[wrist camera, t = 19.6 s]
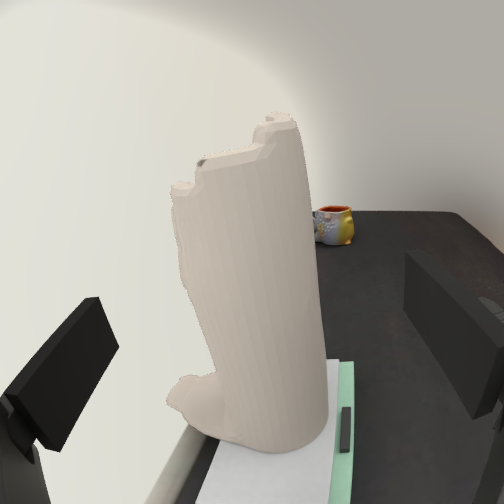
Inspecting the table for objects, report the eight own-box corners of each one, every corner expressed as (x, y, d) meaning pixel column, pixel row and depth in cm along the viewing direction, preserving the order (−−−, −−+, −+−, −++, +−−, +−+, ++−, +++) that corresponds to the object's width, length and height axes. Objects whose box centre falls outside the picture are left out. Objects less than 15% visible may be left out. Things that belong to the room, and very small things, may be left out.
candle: (193, 364, 29) (132, 148, 23) (339, 389, 23) (312, 107, 16) (147, 413, 23) (54, 168, 17) (311, 463, 17) (259, 102, 10)
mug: (355, 233, 64) (352, 202, 62) (354, 246, 58) (351, 211, 56) (299, 237, 69) (295, 206, 66) (292, 248, 63) (287, 215, 60)
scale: (345, 538, 13) (348, 525, 12) (202, 524, 16) (187, 508, 15) (353, 379, 28) (353, 354, 27) (254, 381, 30) (248, 357, 29)
